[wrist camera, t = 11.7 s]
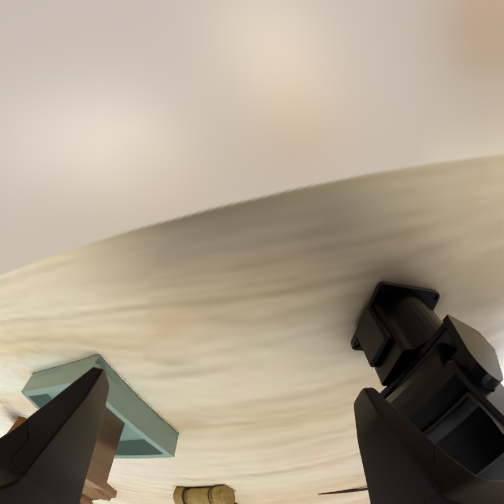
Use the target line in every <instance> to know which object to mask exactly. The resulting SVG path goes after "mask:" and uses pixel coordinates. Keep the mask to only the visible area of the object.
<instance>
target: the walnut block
mask: <svg viewBox="0 0 504 504" xmlns="http://www.w3.org/2000/svg"><path fill="white" fill-rule="evenodd" d="M124 425H125V423H124V422H123V421H122V420H121V419H120V418H118V417H117V416H116V415H115V414H114V413H113V412H112V411H111V410H110V409H108V408H107V407H105V411H104V417H103V421H102V426H101V429H100V432H99V436H98V439H97V442H96V445H95V448H94V452H93V455H92V459H91V462H90V466H89V469H88V473H87V476H86V480H85V484H84V486H85V487H91V488H96V489H102V490H105V486H106V483H107V479H108V476H109V473H110V469H111V466H112V463H113V459H114V456H115V453H116V450H117V447H118V443H119V440H120V437H121V434H122V431H123V428H124Z"/></svg>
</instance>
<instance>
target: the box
mask: <svg viewBox="0 0 504 504" xmlns="http://www.w3.org/2000/svg"><path fill="white" fill-rule="evenodd" d="M92 367H98V368H102V369H104V370H105V372H106V375H107V378H108V382H109V393H108V397H107V402H106V407H107V408H108V409H110V410H111V411H112V412H113V413H114V414H115V415H116V416H117V417H118V418H120V419H121V420H122V421H123V422H124V423H125V425H124V428H123V431H122V434H121V437H120V440H119V443H118V447H117V450H116V453H115V456H114V458H165V457H174V455H175V450H176V444H177V439H178V434H179V433H178V432H176V431H175V430H174V429H173V428H172V427H171V426H169V425H168V424H167V423H166V422H165V421H164V420H163V419H162V418H160V417H159V416H158V415H157V414H156V413H155V412H154V411H153V410H152V409H151V408H150V407H149V406H148V405H146V404H145V403H144V402H143V401H142V400H141V399H140V398H139V397H138V396H137V395H136V394H135V393H134V392H133V391H132V390H131V389H130V388H129V387H128V386H127V385H126V384H125V382H124V381H123V380H122V379H121V378H120V377H119V376H118V375H117V374H116V373H115V372H114V371H113V370H112V369H111V367H110V366H109V365H108V364H107V363H106V362H105V361H104V359H103V358H102V357H101V356H100V355H96V356H93V357H89V358H86V359H83V360H79V361H76V362H73V363H69V364H66V365H62V366H59V367H55V368H51V369H48V370H44V371H41V372H37V373H33V374H32V376H31V377H30V379H29V381H28V382H27V384H26V385H25V387H24V388H23V390H22V391H21V392H22V393H23V395H24V396H25V397H26V398H27V399H28V400H29V401H30V402H31V403H32V404H33V405H34V406H35V407H36V408H37V409H38V410H39V409H40V408H41V407H43V406H44V405H45V404H46V403H48V402H49V401H50V400H51V399H53V398H54V397H55V396H56V395H58V394H59V393H60V392H62V391H63V390H64V389H65V388H67V387H68V386H69V385H70V384H72V383H73V382H74V381H76V380H77V379H78V378H79V377H81V376H82V375H83V374H84V373H86V372H87V371H88V370H90V369H91V368H92Z"/></svg>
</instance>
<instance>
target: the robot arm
mask: <svg viewBox="0 0 504 504" xmlns="http://www.w3.org/2000/svg"><path fill="white" fill-rule="evenodd" d="M383 287H385V288H384V289H383V290H381V289H382V288H383ZM439 297H440V295H439V293H438V292H437V291H435V290H430V289H424V288H418V287H412V286H406V285H400V284H394V283H389V282H381V283H379V284H378V285H377V287H376V289H375V292H374V294H373V296H372V299H371V301H370V303H369V306H368V307H367V308H366V310H365V312H364V314H363V317H362V319H361V321H360V323H359V325H358V327H357V330H356V334H355V336H354V338H353V340H352V342H351V346H352V349H354V350H361V351H364V353H365V355H366V358H367V360H368V362H369V364H370V366H371V367H375V370H376V372H377V374H378V377H379V379H380V381H381V384H382V386H387V387H386V388H385V389H384V390H383V391H382V392H381V393H379V392H378V391H377V390H375V389H374V388H363V389H362V390H361V392H360V393H359V395H358V397H357V399H356V400H355V403H354V412H355V421H356V430H357V438H358V445H359V449H360V454H361V458H362V463H363V468H364V472H365V477H366V482H367V487H368V492H369V497H370V503H371V504H504V387H503V385H502V384H501V382H502V380H503V376H502V372H501V369H500V365H499V362H498V359H497V355H496V352H495V349H494V348H493V347H492V346H491V345H490V344H489V342H488V341H487V340H486V339H485V338H484V337H483V336H482V335H481V334H480V333H479V332H478V331H477V330H475V329H473V328H472V327H470V326H468V325H466V324H464V323H463V322H461V321H459V320H457V319H455V318H454V317H452V316H450V315H448V314H447V315H446V317H445V318H444V319H443V323H442V321H441V320H440V319H439V318H438V316H437V315H436V314H435V313H434V312H433V310H434V308H435V306H436V304H437V302H438V300H439ZM358 343H359V344H358ZM356 344H357V345H356ZM108 393H109V382H108V378H107V375H106V372H105V370H104V369H102V368H98V367H92V368H91V369H90V370H88V371H87V372H86V373H84V374H83V375H82V376H81V377H79V378H78V379H77V380H76V381H74V382H73V383H72V384H70V385H69V386H68V387H67V388H65V389H64V390H63V391H62V392H60V393H59V394H58V395H56V396H55V397H54V398H53V399H51V400H50V401H49V402H48V403H46V404H45V405H44V406H43V407H41V408H40V409H39V410H37V411H36V412H35V413H34V414H32V415H31V416H30V417H29V418H28V419H27V420H25V421H23V422H22V423H21V424H20V425H18V426H17V427H16V428H14V429H13V430H12V431H10V432H9V433H7V434H6V435H4V436H3V437H1V438H0V504H80V500H81V495H82V492H83V488H84V484H85V480H86V476H87V473H88V469H89V466H90V462H91V459H92V455H93V452H94V448H95V445H96V442H97V439H98V436H99V432H100V429H101V426H102V421H103V417H104V411H105V407H106V402H107V397H108Z"/></svg>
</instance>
